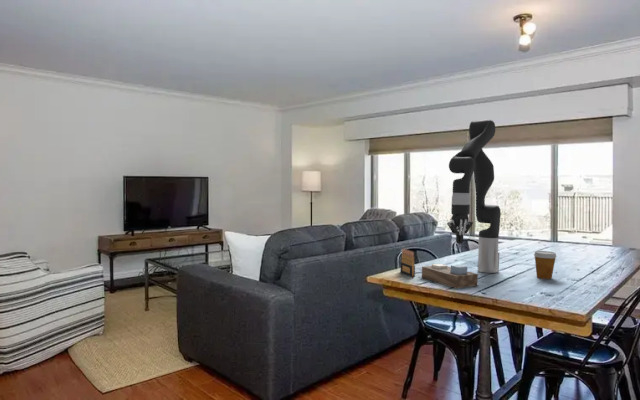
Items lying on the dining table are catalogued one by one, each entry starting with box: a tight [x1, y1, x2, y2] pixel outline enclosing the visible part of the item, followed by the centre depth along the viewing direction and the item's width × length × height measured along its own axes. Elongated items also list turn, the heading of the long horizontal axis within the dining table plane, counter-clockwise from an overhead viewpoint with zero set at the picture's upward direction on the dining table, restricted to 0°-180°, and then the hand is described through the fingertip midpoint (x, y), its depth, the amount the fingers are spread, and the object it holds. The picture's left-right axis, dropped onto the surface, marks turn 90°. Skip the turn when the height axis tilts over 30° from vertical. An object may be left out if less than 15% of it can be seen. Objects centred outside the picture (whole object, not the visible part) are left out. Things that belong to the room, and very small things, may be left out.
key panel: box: [421, 265, 479, 289], centre depth 195 cm, size 12×22×5 cm, turn 27°
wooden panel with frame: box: [399, 247, 416, 278], centre depth 208 cm, size 11×2×12 cm, turn 18°
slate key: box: [450, 264, 468, 275], centre depth 189 cm, size 5×5×4 cm
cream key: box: [431, 263, 448, 269], centre depth 200 cm, size 5×5×4 cm
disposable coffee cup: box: [533, 250, 557, 280], centre depth 205 cm, size 10×10×12 cm
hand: (459, 243), depth 189 cm, fingers closed
